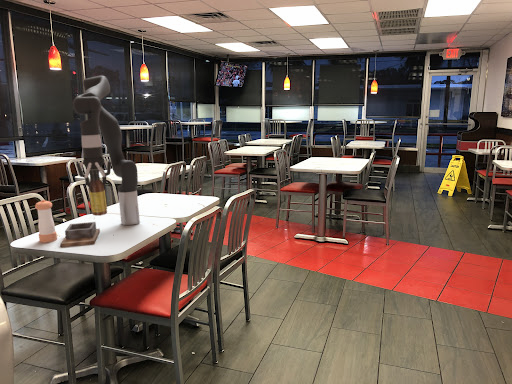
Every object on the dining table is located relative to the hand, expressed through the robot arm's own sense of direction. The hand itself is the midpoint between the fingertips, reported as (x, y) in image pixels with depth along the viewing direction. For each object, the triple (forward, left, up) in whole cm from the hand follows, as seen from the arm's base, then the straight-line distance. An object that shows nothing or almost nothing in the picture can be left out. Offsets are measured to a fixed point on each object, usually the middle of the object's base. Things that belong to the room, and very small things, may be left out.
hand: (96, 185), depth 173 cm
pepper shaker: (+26, -18, -27) cm, 42 cm away
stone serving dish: (+11, -15, -27) cm, 33 cm away
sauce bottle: (0, 0, -13) cm, 13 cm away
